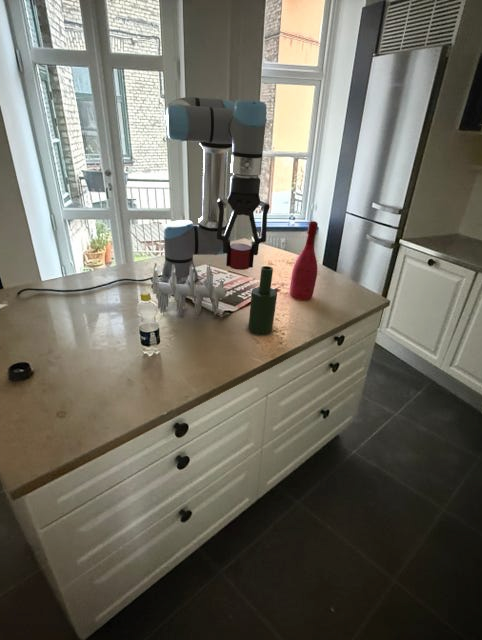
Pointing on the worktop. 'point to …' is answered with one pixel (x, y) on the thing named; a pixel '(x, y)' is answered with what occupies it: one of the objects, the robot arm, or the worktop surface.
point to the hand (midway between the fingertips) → (239, 264)
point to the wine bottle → (305, 268)
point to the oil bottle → (263, 304)
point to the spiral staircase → (187, 291)
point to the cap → (240, 256)
